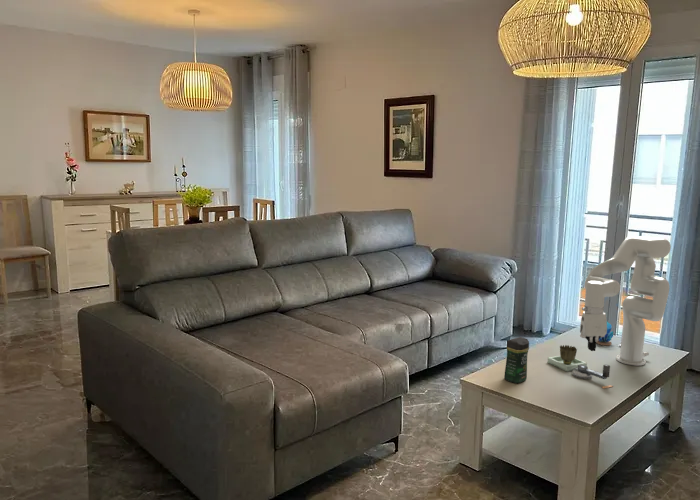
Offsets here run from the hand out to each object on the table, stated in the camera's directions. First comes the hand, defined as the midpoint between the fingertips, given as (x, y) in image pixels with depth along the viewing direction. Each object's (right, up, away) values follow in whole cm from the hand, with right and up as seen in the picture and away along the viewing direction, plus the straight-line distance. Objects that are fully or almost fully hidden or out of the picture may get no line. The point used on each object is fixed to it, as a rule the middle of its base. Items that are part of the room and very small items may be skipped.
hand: (591, 349), depth 236 cm
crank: (0, -11, -1) cm, 11 cm away
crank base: (-3, -12, +4) cm, 13 cm away
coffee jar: (-34, -13, -2) cm, 36 cm away
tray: (-4, -10, +16) cm, 19 cm away
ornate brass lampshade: (-4, -10, +16) cm, 19 cm away
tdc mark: (+3, -14, -8) cm, 17 cm away
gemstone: (+28, -6, +48) cm, 55 cm away
